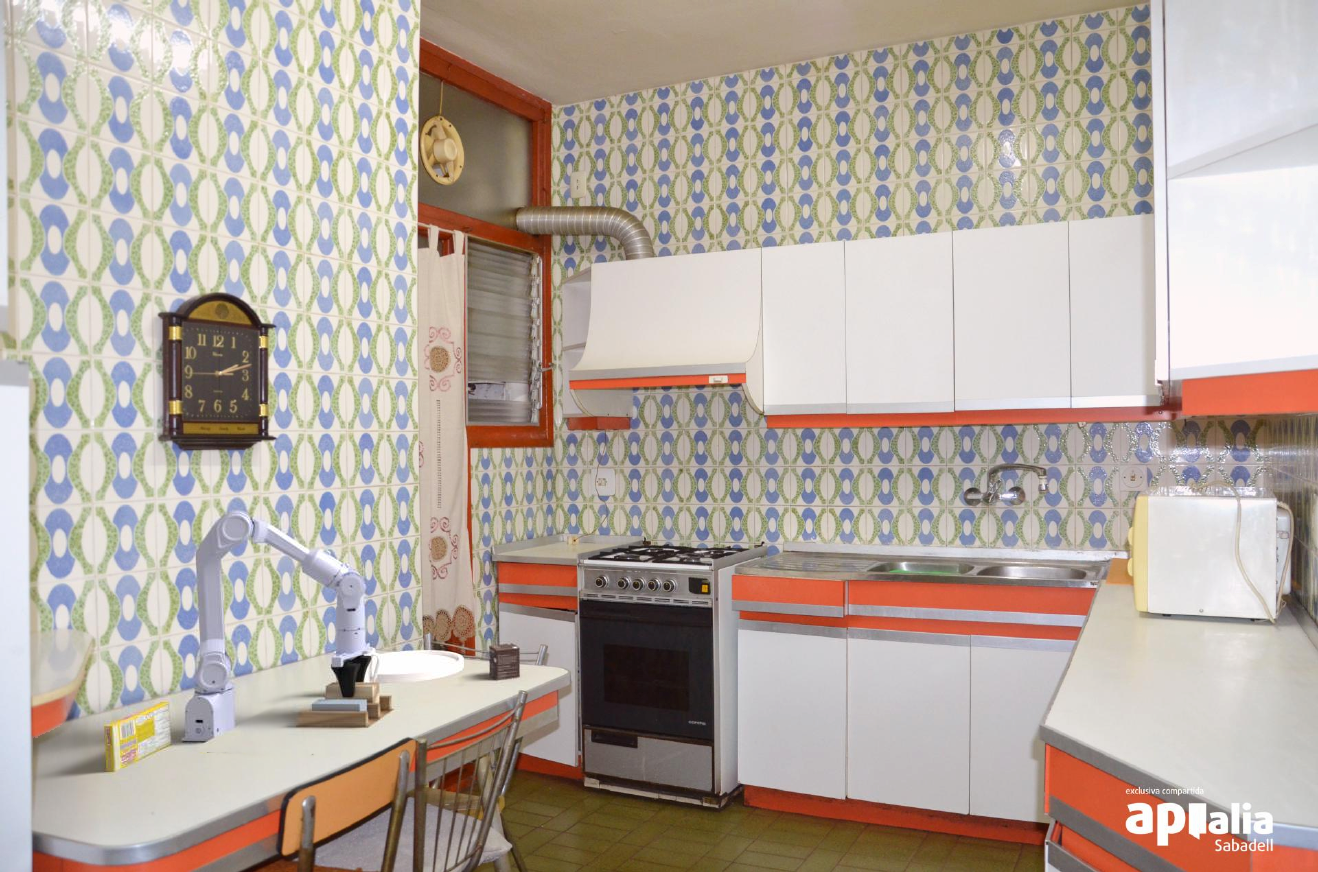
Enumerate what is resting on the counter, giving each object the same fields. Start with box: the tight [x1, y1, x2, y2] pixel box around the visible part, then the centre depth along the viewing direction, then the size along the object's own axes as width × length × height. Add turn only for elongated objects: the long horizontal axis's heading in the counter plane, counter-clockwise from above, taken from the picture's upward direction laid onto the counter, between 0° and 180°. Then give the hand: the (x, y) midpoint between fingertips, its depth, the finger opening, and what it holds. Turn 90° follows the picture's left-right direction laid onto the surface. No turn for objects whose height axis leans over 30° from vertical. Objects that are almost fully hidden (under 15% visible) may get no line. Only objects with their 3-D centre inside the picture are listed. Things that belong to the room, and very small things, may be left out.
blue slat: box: [311, 698, 367, 711], centre depth 204 cm, size 4×10×4 cm, turn 84°
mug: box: [333, 646, 381, 682], centre depth 228 cm, size 11×9×10 cm
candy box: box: [103, 701, 172, 773], centre depth 186 cm, size 16×2×8 cm, turn 172°
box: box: [488, 642, 521, 681], centre depth 245 cm, size 6×6×7 cm
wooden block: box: [325, 681, 380, 703], centre depth 210 cm, size 4×10×6 cm, turn 84°
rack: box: [294, 695, 395, 729], centre depth 207 cm, size 14×15×4 cm
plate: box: [374, 649, 465, 684], centre depth 255 cm, size 28×28×2 cm
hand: (352, 694), depth 210 cm, fingers closed on wooden block, 3 cm apart
